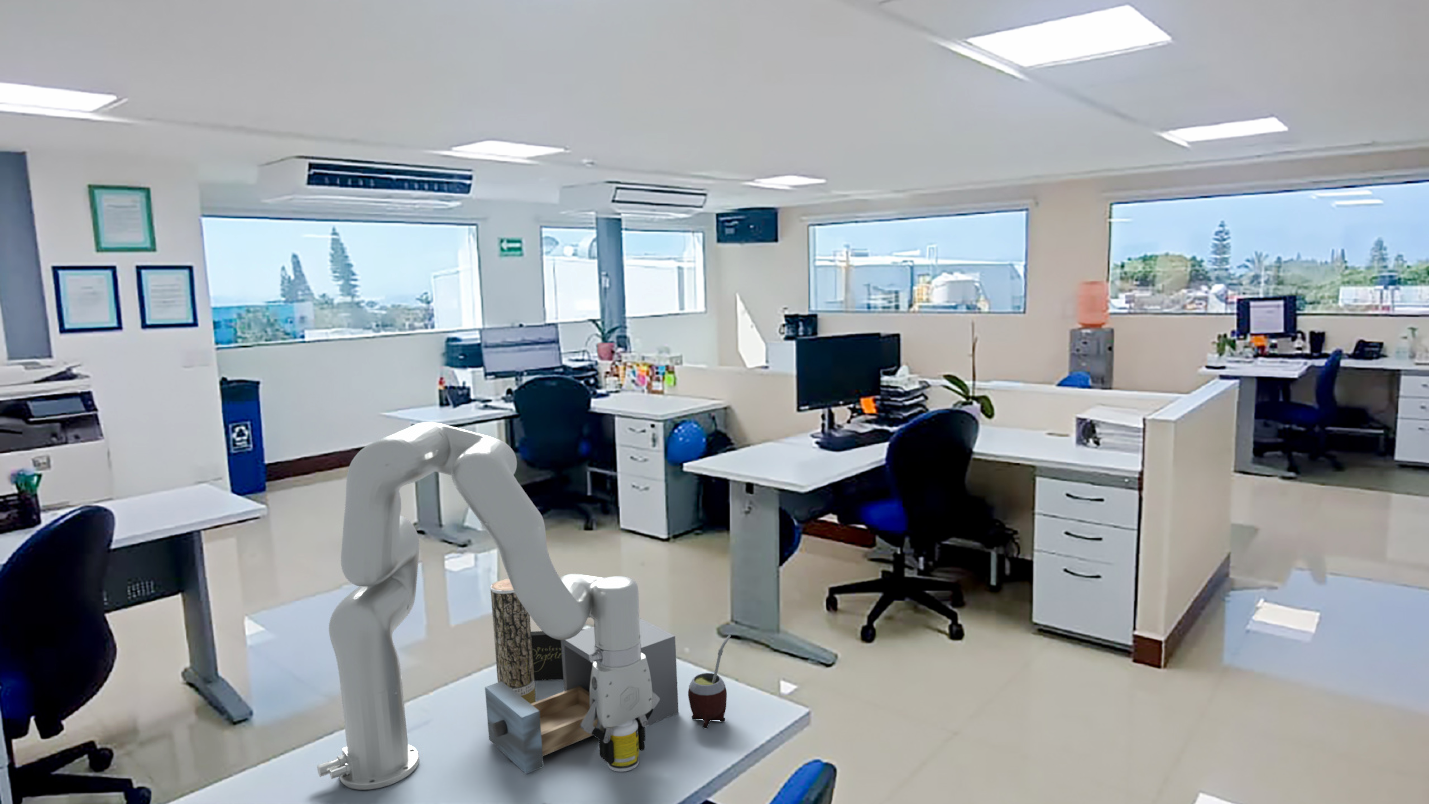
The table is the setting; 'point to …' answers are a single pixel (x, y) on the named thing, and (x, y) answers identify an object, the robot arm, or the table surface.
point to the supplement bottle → (625, 746)
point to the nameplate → (546, 657)
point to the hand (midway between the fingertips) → (622, 752)
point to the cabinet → (653, 645)
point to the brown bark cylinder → (512, 640)
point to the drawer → (535, 723)
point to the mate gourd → (708, 694)
